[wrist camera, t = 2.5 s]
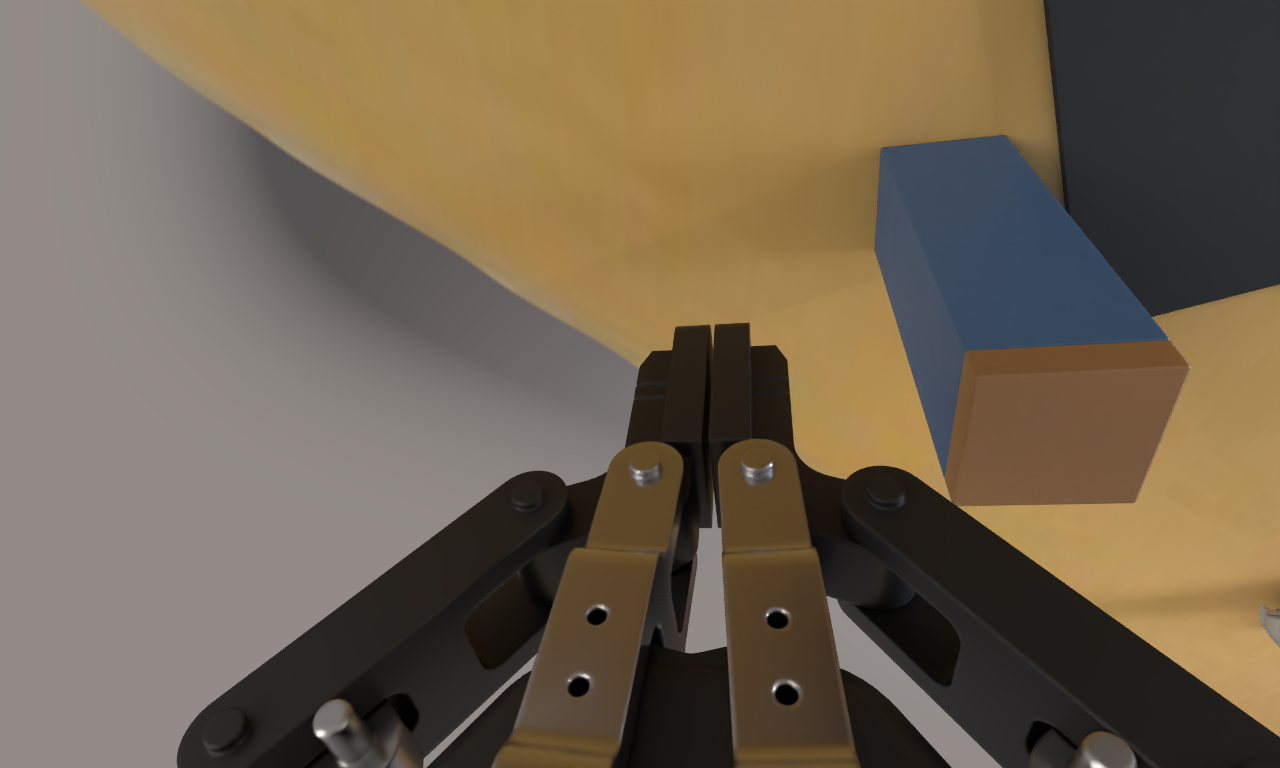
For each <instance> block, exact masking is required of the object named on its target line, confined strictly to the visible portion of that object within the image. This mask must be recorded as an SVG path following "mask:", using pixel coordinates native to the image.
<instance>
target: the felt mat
mask: <svg viewBox="0 0 1280 768" xmlns="http://www.w3.org/2000/svg"><path fill="white" fill-rule="evenodd" d="M1044 10H1045V19H1046V29H1047V38H1048V48H1049V57H1050V67H1051V76H1052V85H1053V95H1054V104H1055V114H1056V123H1057V133H1058V142H1059V152H1060V161H1061V171H1062V180H1063V190H1064V199H1065V208H1066V212H1067V213H1068V214H1069V215H1070V217H1071V218H1072V219H1073V220H1074V222H1075V223H1076V224H1077V225H1078V227H1079V228H1080V229H1081V230H1082V232H1083V233H1084V234H1085V235H1086V237H1087V238H1088V239H1089V240H1090V241H1091V243H1092V244H1093V245H1094V246H1095V248H1096V249H1097V250H1098V251H1099V253H1100V254H1101V255H1102V256H1103V258H1104V259H1105V260H1106V261H1107V263H1108V264H1109V265H1110V266H1111V267H1112V269H1113V270H1114V271H1115V272H1116V274H1117V275H1118V276H1119V277H1120V279H1121V280H1122V281H1123V282H1124V284H1125V285H1126V286H1127V287H1128V289H1129V290H1130V291H1131V292H1132V293H1133V295H1134V296H1135V297H1136V298H1137V300H1138V301H1139V302H1140V303H1141V305H1142V306H1143V307H1144V308H1145V310H1146V311H1147V312H1148V313H1149V315H1150V316H1151V317H1153V316H1157V315H1161V314H1165V313H1169V312H1173V311H1177V310H1180V309H1184V308H1188V307H1192V306H1196V305H1200V304H1204V303H1208V302H1212V301H1216V300H1220V299H1224V298H1227V297H1231V296H1235V295H1239V294H1243V293H1247V292H1251V291H1255V290H1259V289H1263V288H1267V287H1271V286H1274V285H1278V284H1280V0H1044Z"/></svg>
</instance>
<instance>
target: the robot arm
mask: <svg viewBox="0 0 1280 768" xmlns="http://www.w3.org/2000/svg"><path fill="white" fill-rule="evenodd" d="M634 399H635V400H634V401H633V407H632V412H631V417H630V424H629V428H628V434H627V439H626V445H625V448H624V449H623V450H621V451H620V452H619V453H618V454H617V455H616V456H615V457H614V458H613V460H612V461H611V463H610V465H609V468H608V471H607V472H606V473H604V474H603V475H600V476H598V477H596V478H593V479H590V480H588V481H584V482H580V483H576V484H573V485H569V486H566V485H565V483H564V482H563V480H562V479H561V478H560V477H559V476H557V475H555V474H553V473H550V472H546V471H530V472H526V473H522V474H520V475H517V476H515V477H513V478H511V479H510V480H508V481H507V482H505V483H504V484H502V485H501V486H500V487H498V488H497V489H496V490H495V491H493V492H492V493H490V494H489V495H488V496H486V497H485V498H484V499H483V500H481V501H480V502H479V503H477V504H476V505H475V506H473V507H472V508H471V509H469V510H468V511H467V512H465V513H464V514H463V515H461V516H460V517H459V518H457V519H456V520H455V521H453V522H452V523H451V524H449V525H448V526H447V527H445V528H444V529H443V530H441V531H440V532H439V533H437V534H436V535H435V536H433V537H432V538H431V539H430V540H428V541H427V542H425V543H424V544H423V545H421V546H420V547H419V548H417V549H416V550H415V551H413V552H412V553H411V554H409V555H408V556H407V557H405V558H404V559H403V560H401V561H400V562H399V563H397V564H396V565H395V566H393V567H392V568H391V569H389V570H388V571H387V572H385V573H384V574H383V575H381V576H380V577H379V578H377V579H376V580H375V581H373V582H372V583H371V584H369V585H368V586H367V587H365V588H364V589H363V590H361V591H360V592H359V593H357V594H356V595H355V596H353V597H352V598H351V599H349V600H348V601H347V602H346V603H344V604H343V605H341V606H340V607H339V608H337V609H336V610H335V611H333V612H332V613H331V614H329V615H328V616H327V617H325V618H324V619H323V620H321V621H320V622H319V623H317V624H316V625H315V626H313V627H312V628H311V629H309V630H308V631H307V632H305V633H304V634H303V635H301V636H300V637H299V638H297V639H296V640H295V641H293V642H292V643H291V644H289V645H288V646H287V647H285V648H284V649H283V650H281V651H280V652H279V653H277V654H276V655H275V656H273V657H272V658H271V659H269V660H268V661H267V662H266V663H264V664H263V665H262V666H260V667H259V668H258V669H256V670H255V671H253V672H252V673H251V674H249V675H248V676H247V677H245V678H244V679H243V680H241V681H240V682H239V683H237V684H236V685H235V686H233V687H232V688H231V689H229V690H228V691H227V692H225V693H224V694H223V695H221V696H220V697H219V698H217V699H216V700H215V701H213V702H212V703H211V704H210V705H208V706H207V707H206V708H205V709H204V710H203V711H202V712H201V713H200V714H199V715H198V716H197V717H196V718H195V720H194V721H193V722H192V723H191V725H190V726H189V728H188V729H187V731H186V732H185V734H184V736H183V738H182V741H181V743H180V746H179V749H178V754H177V766H178V768H423V759H424V758H425V757H426V756H427V755H428V754H429V753H430V752H431V751H432V750H433V749H434V748H436V747H437V746H438V745H439V744H440V743H441V742H442V741H443V740H444V739H445V738H446V737H447V736H449V735H450V734H451V733H452V732H453V731H454V730H455V729H456V728H457V727H458V726H459V725H460V724H461V723H463V722H464V721H465V719H467V718H468V717H469V716H470V715H471V714H472V713H473V712H474V711H475V710H476V709H478V708H479V707H480V706H481V705H482V704H483V703H484V702H485V701H486V700H487V699H488V698H489V697H490V696H492V695H493V694H494V693H495V692H496V691H497V690H498V689H499V688H500V687H501V686H502V685H503V684H504V683H506V682H507V681H508V680H509V679H510V678H511V677H512V676H513V675H514V674H515V673H516V672H517V671H518V670H520V669H521V668H522V667H523V666H524V665H525V664H526V663H527V662H528V661H529V660H530V659H531V658H532V657H533V656H535V655H536V654H537V656H536V659H535V662H534V666H533V668H532V670H531V671H530V672H528V673H526V674H525V675H523V676H522V677H521V678H520V679H518V680H517V681H515V682H514V683H513V684H512V685H510V686H509V687H508V688H507V689H506V690H505V691H504V692H503V693H502V694H501V695H500V696H499V697H498V698H497V699H496V700H495V701H494V702H493V703H492V704H491V705H490V706H489V707H488V708H487V709H486V710H485V711H484V712H483V713H482V714H481V715H480V716H479V717H478V718H477V719H475V721H474V722H473V723H471V724H470V725H469V726H468V727H467V729H465V730H464V731H463V732H462V733H461V734H460V735H459V736H458V737H457V738H456V739H455V740H454V741H453V742H452V743H451V744H450V745H449V746H448V747H447V748H446V749H445V750H444V751H443V752H442V753H441V754H440V755H439V756H438V757H437V758H436V759H435V760H434V761H433V762H432V763H431V764H430V765H429V766H428V767H427V768H951V767H950V765H949V764H948V763H947V762H946V761H945V760H944V759H943V758H942V757H941V756H940V755H939V753H938V752H937V751H936V750H935V749H934V748H933V747H932V746H931V745H930V744H929V742H928V741H927V740H926V739H925V738H924V737H923V736H922V735H921V734H920V733H919V731H918V730H917V729H916V728H915V727H914V726H913V725H912V724H911V723H910V722H909V721H908V719H907V718H906V717H905V716H904V715H903V714H902V713H901V712H900V711H899V710H898V709H897V707H896V706H894V704H893V703H892V702H891V701H890V700H889V699H887V698H886V697H885V696H884V695H883V694H881V693H880V692H879V691H878V690H877V689H876V688H874V687H873V686H871V685H870V684H868V683H867V682H866V681H864V680H863V679H861V678H859V677H857V676H855V675H854V674H852V673H850V672H848V671H846V670H843V669H840V666H839V661H838V656H837V651H836V645H835V640H834V635H833V630H832V624H831V619H830V613H829V608H828V604H827V598H826V596H829V597H832V598H836V599H837V600H838V603H839V605H840V607H841V609H842V610H843V612H844V613H845V614H846V615H847V616H848V617H849V618H850V619H851V620H852V621H853V622H854V623H855V624H856V625H857V626H858V627H859V628H860V629H861V630H862V631H863V632H865V634H866V635H867V636H868V637H870V638H871V639H872V640H873V641H874V642H875V643H876V644H877V645H878V646H879V647H880V648H881V649H882V650H883V651H884V652H885V653H886V654H887V655H888V656H889V657H890V658H891V659H892V660H893V661H894V662H895V663H896V664H897V665H898V666H899V667H900V668H901V669H902V670H904V672H905V673H906V674H907V675H908V676H909V677H910V678H911V679H912V680H913V681H914V682H916V683H917V684H918V685H919V686H920V687H921V688H922V689H923V690H924V691H925V692H926V693H927V694H928V695H929V696H930V697H931V698H932V699H933V700H934V701H935V702H936V703H937V704H938V705H939V706H940V707H941V708H942V709H943V710H944V711H945V712H946V713H947V714H948V715H949V716H950V717H952V719H953V720H954V721H955V722H956V723H957V724H959V726H961V727H962V728H963V729H964V730H965V731H966V732H967V733H968V734H969V735H970V736H971V737H972V738H973V739H974V740H975V741H976V742H977V743H978V744H979V745H980V746H981V747H982V748H983V749H984V750H985V751H986V752H987V753H988V754H989V755H990V756H991V757H993V759H994V760H995V761H996V762H997V763H999V764H1000V765H1001V767H1003V768H1280V737H1279V736H1277V735H1276V734H1274V733H1273V732H1272V731H1270V730H1269V729H1267V728H1266V727H1265V726H1263V725H1262V724H1260V723H1259V722H1258V721H1256V720H1255V719H1253V718H1252V717H1251V716H1249V715H1248V714H1246V713H1245V712H1244V711H1242V710H1241V709H1239V708H1238V707H1237V706H1235V705H1234V704H1232V703H1231V702H1230V701H1228V700H1227V699H1225V698H1224V697H1223V696H1221V695H1220V694H1219V693H1217V692H1216V691H1214V690H1213V689H1212V688H1210V687H1209V686H1207V685H1206V684H1205V683H1203V682H1202V681H1200V680H1199V679H1198V678H1196V677H1195V676H1193V675H1192V674H1191V673H1189V672H1188V671H1186V670H1185V669H1184V668H1182V667H1181V666H1179V665H1178V664H1177V663H1175V662H1174V661H1172V660H1171V659H1170V658H1168V657H1167V656H1165V655H1164V654H1163V653H1161V652H1160V651H1158V650H1157V649H1156V648H1154V647H1153V646H1151V645H1150V644H1149V643H1147V642H1146V641H1144V640H1143V639H1142V638H1140V637H1139V636H1137V635H1136V634H1135V633H1133V632H1132V631H1131V630H1129V629H1128V628H1126V627H1125V626H1124V625H1122V624H1121V623H1119V622H1118V621H1117V620H1115V619H1114V618H1112V617H1111V616H1110V615H1108V614H1107V613H1105V612H1104V611H1103V610H1101V609H1100V608H1098V607H1097V606H1096V605H1094V604H1093V603H1091V602H1090V601H1089V600H1087V599H1086V598H1084V597H1083V596H1082V595H1080V594H1079V593H1077V592H1076V591H1075V590H1073V589H1072V588H1070V587H1069V586H1068V585H1066V584H1065V583H1063V582H1062V581H1061V580H1059V579H1058V578H1056V577H1055V576H1054V575H1052V574H1051V573H1049V572H1048V571H1047V570H1045V569H1044V568H1043V567H1041V566H1040V565H1038V564H1037V563H1036V562H1034V561H1033V560H1031V559H1030V558H1029V557H1027V556H1026V555H1024V554H1023V553H1022V552H1020V551H1019V550H1017V549H1016V548H1015V547H1013V546H1012V545H1010V544H1009V543H1008V542H1006V541H1005V540H1003V539H1002V538H1001V537H999V536H998V535H996V534H995V533H994V532H992V531H991V530H989V529H988V528H987V527H985V526H984V525H982V524H981V523H980V522H978V521H977V520H975V519H974V518H973V517H971V516H970V515H968V514H967V513H966V512H964V511H963V510H961V509H960V508H959V507H957V506H956V505H955V504H953V503H952V502H950V501H949V500H948V499H946V498H945V497H943V496H942V495H941V494H939V493H938V492H936V491H935V490H934V489H932V488H931V487H929V486H928V485H927V484H925V483H924V482H922V481H921V480H920V479H918V478H917V477H915V476H914V475H912V474H910V473H909V472H906V471H904V470H902V469H898V468H895V467H889V466H872V467H866V468H863V469H860V470H858V471H856V472H854V473H853V474H852V475H850V476H849V477H848V478H847V479H846V480H844V479H840V478H836V477H832V476H828V475H825V474H822V473H819V472H817V471H815V470H813V469H811V468H810V467H808V466H807V465H806V464H805V463H804V462H803V461H802V460H801V459H800V458H799V456H798V455H797V453H796V451H795V448H794V441H793V428H792V415H791V402H790V389H789V377H788V364H787V359H786V358H785V357H784V355H783V354H782V353H781V351H780V350H779V349H778V348H777V346H776V345H770V346H751V340H750V324H749V323H734V324H715V330H714V348H713V345H712V334H711V327H710V325H699V326H680V327H676V328H675V333H674V341H673V349H672V350H668V351H652V352H651V353H650V355H649V356H648V357H647V358H646V360H645V361H644V362H643V363H642V365H641V366H640V368H639V374H638V380H637V387H636V390H635V396H634ZM713 491H714V494H715V504H716V513H717V522H718V527H719V528H721V529H722V546H723V552H722V567H723V582H724V583H723V584H724V601H725V618H726V635H727V647H723V648H718V649H713V650H709V651H705V652H700V653H693V654H689V653H685V644H686V637H687V631H688V623H689V617H690V609H691V603H692V596H693V590H694V583H695V576H696V569H697V554H696V552H697V549H698V540H699V528H712V514H713V512H712V511H713ZM515 573H516V574H515ZM509 578H510V579H509ZM508 579H509V580H508ZM502 584H503V585H502ZM496 589H497V590H496ZM490 594H491V595H490ZM484 599H485V600H484ZM483 600H484V601H483ZM477 605H478V606H477Z"/></svg>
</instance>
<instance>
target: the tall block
mask: <svg viewBox="0 0 1280 768" xmlns="http://www.w3.org/2000/svg"><path fill="white" fill-rule="evenodd" d="M875 253H876V256H877V259H878V263H879V266H880V269H881V272H882V276H883V279H884V282H885V286H886V289H887V292H888V295H889V299H890V302H891V305H892V309H893V312H894V315H895V318H896V322H897V325H898V328H899V331H900V335H901V338H902V341H903V345H904V348H905V351H906V354H907V358H908V361H909V364H910V368H911V371H912V374H913V377H914V381H915V384H916V387H917V391H918V394H919V397H920V400H921V404H922V407H923V410H924V413H925V417H926V420H927V423H928V427H929V430H930V433H931V436H932V440H933V443H934V446H935V450H936V453H937V456H938V459H939V463H940V466H941V469H942V472H943V476H944V477H945V481H946V485H947V488H948V491H949V495H950V498H951V501H952V503H953V504H955V505H956V506H991V505H1050V504H1109V503H1135V502H1136V500H1137V498H1138V496H1139V493H1140V491H1141V488H1142V486H1143V483H1144V481H1145V478H1146V476H1147V474H1148V471H1149V469H1150V466H1151V464H1152V461H1153V459H1154V456H1155V454H1156V451H1157V449H1158V447H1159V444H1160V442H1161V439H1162V437H1163V434H1164V432H1165V429H1166V427H1167V425H1168V422H1169V420H1170V417H1171V415H1172V412H1173V410H1174V407H1175V405H1176V403H1177V400H1178V398H1179V395H1180V393H1181V390H1182V388H1183V385H1184V383H1185V381H1186V378H1187V376H1188V373H1189V371H1190V365H1189V364H1188V362H1187V361H1186V360H1185V359H1184V357H1183V356H1182V355H1181V354H1180V352H1179V351H1178V350H1177V349H1176V347H1175V346H1174V345H1173V344H1172V343H1171V341H1169V340H1168V337H1167V336H1166V334H1165V333H1164V332H1163V331H1162V329H1161V328H1160V327H1159V326H1158V324H1157V323H1156V322H1155V321H1154V319H1153V318H1152V317H1151V316H1150V315H1149V313H1148V312H1147V311H1146V310H1145V308H1144V307H1143V306H1142V305H1141V303H1140V302H1139V301H1138V300H1137V298H1136V297H1135V296H1134V295H1133V293H1132V292H1131V291H1130V290H1129V289H1128V287H1127V286H1126V285H1125V284H1124V282H1123V281H1122V280H1121V279H1120V277H1119V276H1118V275H1117V274H1116V272H1115V271H1114V270H1113V269H1112V267H1111V266H1110V265H1109V264H1108V263H1107V261H1106V260H1105V259H1104V258H1103V256H1102V255H1101V254H1100V253H1099V251H1098V250H1097V249H1096V248H1095V246H1094V245H1093V244H1092V243H1091V241H1090V240H1089V239H1088V238H1087V237H1086V235H1085V234H1084V233H1083V232H1082V230H1081V229H1080V228H1079V227H1078V225H1077V224H1076V223H1075V222H1074V220H1073V219H1072V218H1071V217H1070V215H1069V214H1068V213H1067V212H1066V210H1065V209H1064V208H1063V207H1062V206H1061V204H1060V203H1059V202H1058V201H1057V199H1056V198H1055V197H1054V196H1053V194H1052V193H1051V192H1050V191H1049V189H1048V188H1047V187H1046V186H1045V184H1044V183H1043V182H1042V181H1041V180H1040V178H1039V177H1038V176H1037V175H1036V173H1035V172H1034V171H1033V170H1032V168H1031V167H1030V166H1029V165H1028V163H1027V162H1026V161H1025V160H1024V158H1023V157H1022V156H1021V155H1020V154H1019V152H1018V151H1017V150H1016V149H1015V147H1014V146H1013V145H1012V144H1011V142H1010V141H1009V140H1008V139H1007V137H1006V136H1005V135H1003V136H993V137H983V138H973V139H963V140H954V141H944V142H934V143H924V144H915V145H905V146H895V147H885V148H881V155H880V171H879V188H878V205H877V222H876V238H875Z"/></svg>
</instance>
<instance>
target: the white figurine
mask: <svg viewBox="0 0 1280 768" xmlns="http://www.w3.org/2000/svg"><path fill="white" fill-rule="evenodd" d="M1260 620H1261V623H1262V625H1263V627H1264V629H1265V630H1266V631H1267V633H1268V634H1269V636H1270V637H1271V638H1272V640H1273V641H1274V642H1275V643H1276V644H1277V645H1278V646H1279V647H1280V609H1277V611H1274V610H1270V609H1268V608H1266V607H1265V606H1263V605H1260Z"/></svg>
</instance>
